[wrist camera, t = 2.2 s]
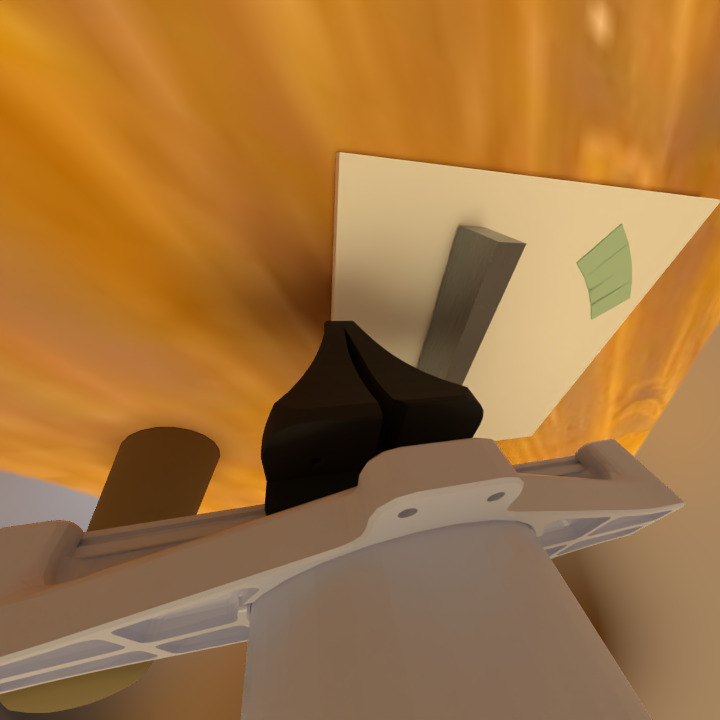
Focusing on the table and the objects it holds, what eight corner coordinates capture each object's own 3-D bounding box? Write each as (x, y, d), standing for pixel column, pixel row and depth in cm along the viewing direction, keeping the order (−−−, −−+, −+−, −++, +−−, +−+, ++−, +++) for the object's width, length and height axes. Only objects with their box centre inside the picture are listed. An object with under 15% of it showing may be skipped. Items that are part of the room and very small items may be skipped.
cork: (187, 416, 17) (78, 686, 8) (235, 462, 21) (195, 678, 12) (95, 443, 17) (-112, 746, 8) (160, 484, 20) (67, 718, 12)
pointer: (424, 429, 21) (442, 465, 18) (386, 433, 20) (399, 472, 18) (503, 228, 12) (557, 247, 9) (439, 223, 11) (480, 243, 9)
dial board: (524, 427, 26) (532, 436, 26) (326, 451, 22) (328, 463, 21) (698, 197, 14) (723, 200, 13) (336, 151, 10) (340, 151, 9)
